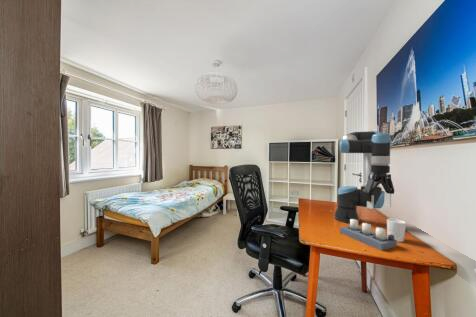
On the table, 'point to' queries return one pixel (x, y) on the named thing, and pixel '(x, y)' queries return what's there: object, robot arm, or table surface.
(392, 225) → the white cup
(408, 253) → the table surface
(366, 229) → the white oval solid
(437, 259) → the table surface
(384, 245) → the grey egg holder
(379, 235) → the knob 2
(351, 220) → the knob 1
